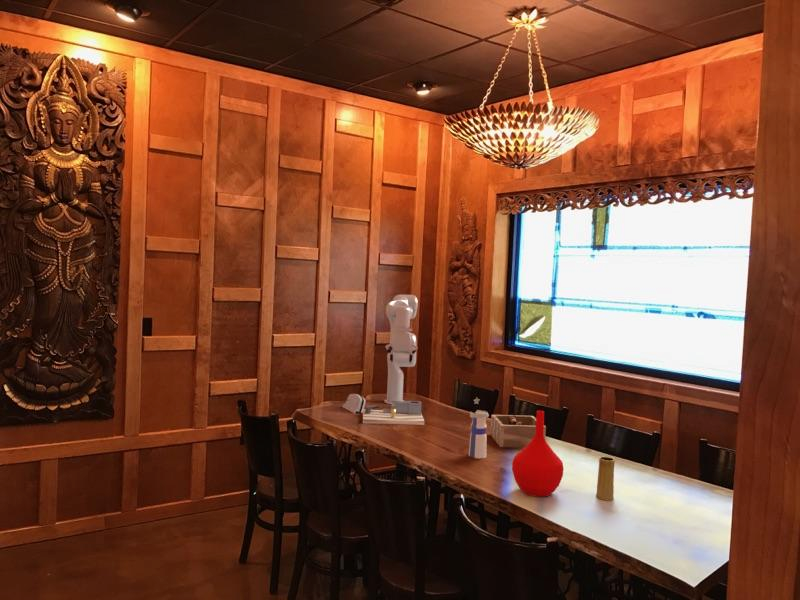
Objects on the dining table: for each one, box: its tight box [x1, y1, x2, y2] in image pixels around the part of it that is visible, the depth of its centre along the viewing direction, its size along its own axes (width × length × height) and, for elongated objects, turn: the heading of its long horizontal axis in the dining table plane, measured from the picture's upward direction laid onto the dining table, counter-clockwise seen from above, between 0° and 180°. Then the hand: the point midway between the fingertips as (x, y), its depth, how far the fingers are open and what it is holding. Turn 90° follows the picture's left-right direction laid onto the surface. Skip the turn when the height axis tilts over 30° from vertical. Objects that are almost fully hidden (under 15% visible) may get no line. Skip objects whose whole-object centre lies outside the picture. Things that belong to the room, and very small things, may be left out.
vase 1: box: [511, 410, 564, 498], centre depth 225 cm, size 18×18×30 cm
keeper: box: [364, 404, 380, 414], centre depth 336 cm, size 4×9×5 cm, turn 138°
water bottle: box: [468, 397, 490, 459], centre depth 268 cm, size 8×9×25 cm
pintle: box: [390, 408, 396, 418], centre depth 326 cm, size 2×2×6 cm
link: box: [382, 400, 423, 415], centre depth 337 cm, size 20×7×6 cm, turn 93°
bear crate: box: [489, 414, 547, 449], centre depth 295 cm, size 22×21×10 cm
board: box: [362, 409, 425, 426], centre depth 331 cm, size 23×32×2 cm
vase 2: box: [595, 456, 615, 501], centre depth 222 cm, size 6×6×14 cm
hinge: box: [342, 393, 366, 414], centre depth 349 cm, size 17×5×10 cm, turn 30°
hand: (400, 362), depth 327 cm, fingers open, 9 cm apart
